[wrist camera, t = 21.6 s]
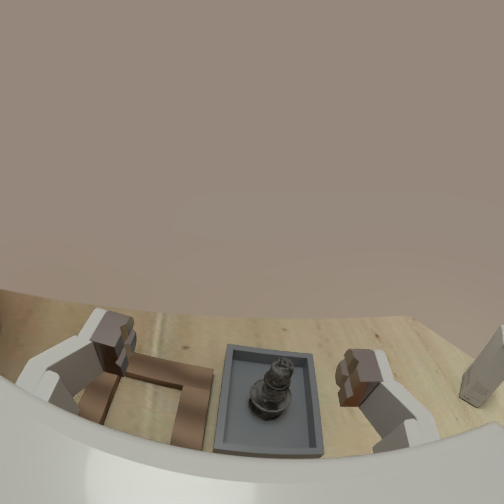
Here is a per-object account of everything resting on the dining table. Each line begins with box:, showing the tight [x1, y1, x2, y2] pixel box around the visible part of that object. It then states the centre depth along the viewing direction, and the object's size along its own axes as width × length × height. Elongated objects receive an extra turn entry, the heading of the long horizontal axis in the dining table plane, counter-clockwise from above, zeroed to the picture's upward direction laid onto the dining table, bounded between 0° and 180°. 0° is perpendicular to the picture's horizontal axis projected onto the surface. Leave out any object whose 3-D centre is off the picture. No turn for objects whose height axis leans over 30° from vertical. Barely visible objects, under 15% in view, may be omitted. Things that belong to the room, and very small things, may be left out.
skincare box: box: [459, 324, 504, 407], centre depth 37 cm, size 8×7×16 cm
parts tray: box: [213, 344, 324, 459], centre depth 36 cm, size 18×14×4 cm
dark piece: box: [248, 358, 294, 421], centre depth 34 cm, size 6×6×12 cm
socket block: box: [78, 352, 214, 451], centre depth 33 cm, size 18×18×2 cm
